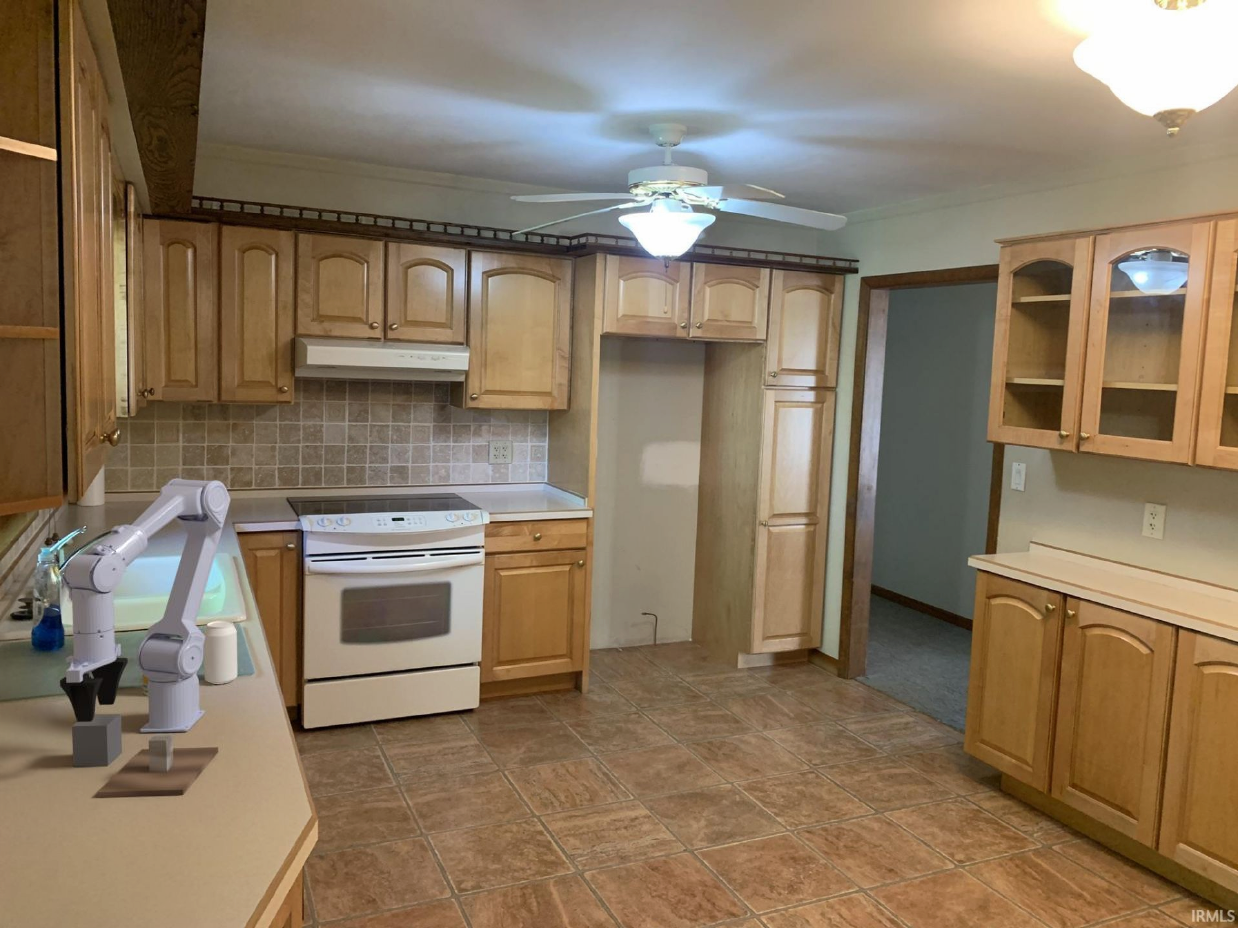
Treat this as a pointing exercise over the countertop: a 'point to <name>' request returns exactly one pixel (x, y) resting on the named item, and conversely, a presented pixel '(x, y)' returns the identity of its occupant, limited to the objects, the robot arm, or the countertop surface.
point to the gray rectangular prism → (97, 740)
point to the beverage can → (220, 652)
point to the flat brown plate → (159, 770)
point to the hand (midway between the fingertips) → (96, 712)
